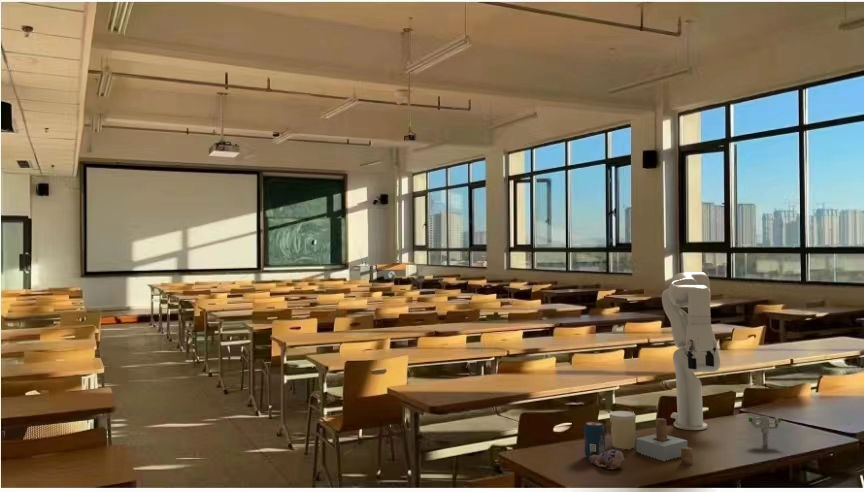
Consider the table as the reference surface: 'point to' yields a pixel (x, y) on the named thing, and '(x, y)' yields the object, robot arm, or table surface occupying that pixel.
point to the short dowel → (686, 456)
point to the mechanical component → (764, 425)
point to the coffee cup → (623, 429)
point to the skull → (608, 459)
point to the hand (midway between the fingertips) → (701, 367)
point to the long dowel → (661, 430)
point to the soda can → (594, 438)
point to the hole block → (660, 447)
